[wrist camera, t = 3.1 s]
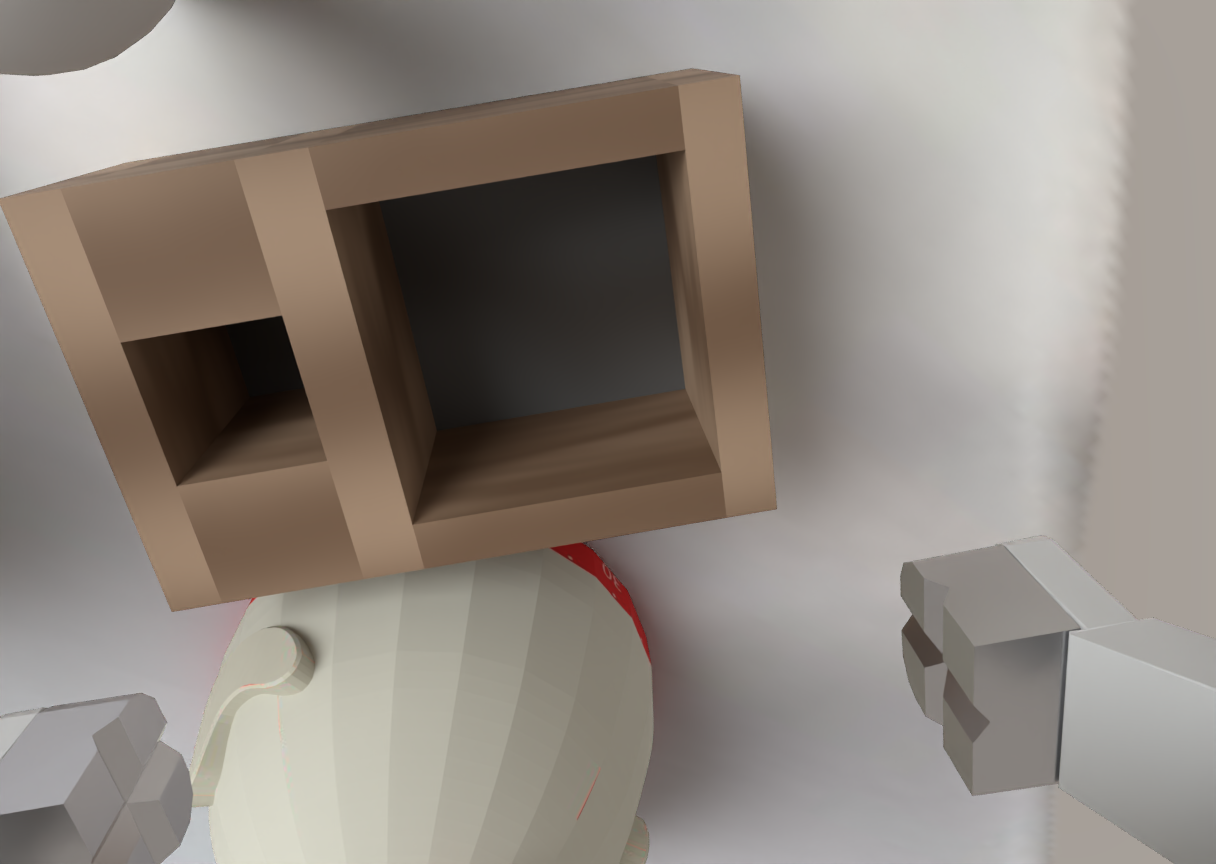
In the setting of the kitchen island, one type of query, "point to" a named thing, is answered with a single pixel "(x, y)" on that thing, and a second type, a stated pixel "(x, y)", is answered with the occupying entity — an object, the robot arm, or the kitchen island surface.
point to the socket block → (418, 334)
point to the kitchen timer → (434, 720)
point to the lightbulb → (71, 32)
